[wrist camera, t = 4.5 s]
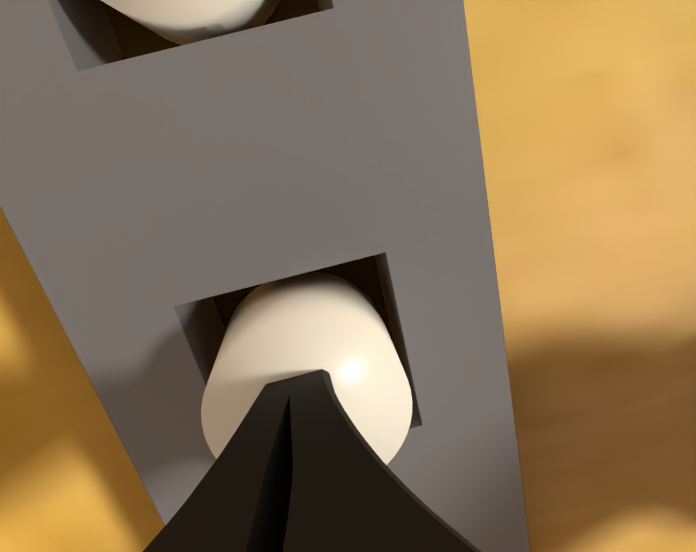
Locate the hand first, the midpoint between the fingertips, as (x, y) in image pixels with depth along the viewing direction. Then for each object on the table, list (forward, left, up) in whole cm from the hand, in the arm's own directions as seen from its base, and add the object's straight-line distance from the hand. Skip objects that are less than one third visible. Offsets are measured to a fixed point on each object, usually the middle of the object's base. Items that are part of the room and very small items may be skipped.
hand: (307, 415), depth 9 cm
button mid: (0, 0, -3) cm, 3 cm away
